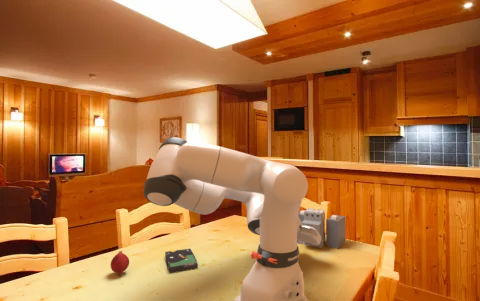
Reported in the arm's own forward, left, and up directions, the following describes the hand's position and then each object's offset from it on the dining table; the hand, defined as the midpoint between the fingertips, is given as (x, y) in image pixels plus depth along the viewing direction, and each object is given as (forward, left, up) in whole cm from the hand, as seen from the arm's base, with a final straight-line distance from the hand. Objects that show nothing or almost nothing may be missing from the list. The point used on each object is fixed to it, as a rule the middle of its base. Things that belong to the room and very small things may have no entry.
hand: (300, 242), depth 106 cm
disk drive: (-36, +32, -5) cm, 49 cm away
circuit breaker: (+12, 0, -5) cm, 13 cm away
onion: (-55, +41, -5) cm, 69 cm away
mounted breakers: (+20, 0, -5) cm, 20 cm away
